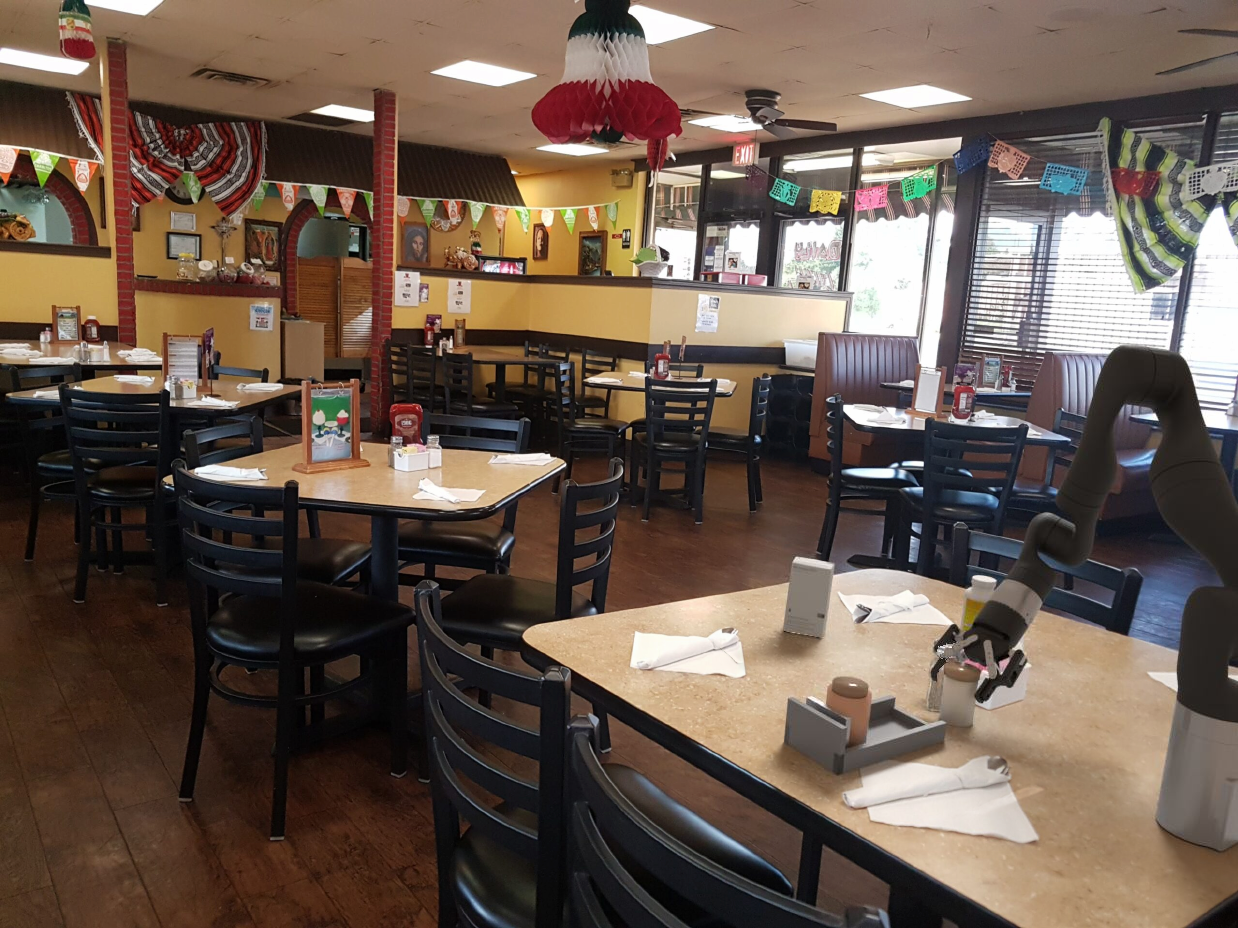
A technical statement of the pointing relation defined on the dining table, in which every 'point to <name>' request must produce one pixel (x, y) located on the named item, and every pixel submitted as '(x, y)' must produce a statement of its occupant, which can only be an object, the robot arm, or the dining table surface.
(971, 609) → the supplement bottle
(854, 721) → the terracotta jar
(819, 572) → the skincare box
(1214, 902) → the dining table surface
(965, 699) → the cream jar
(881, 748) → the pusher lane
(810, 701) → the plate
